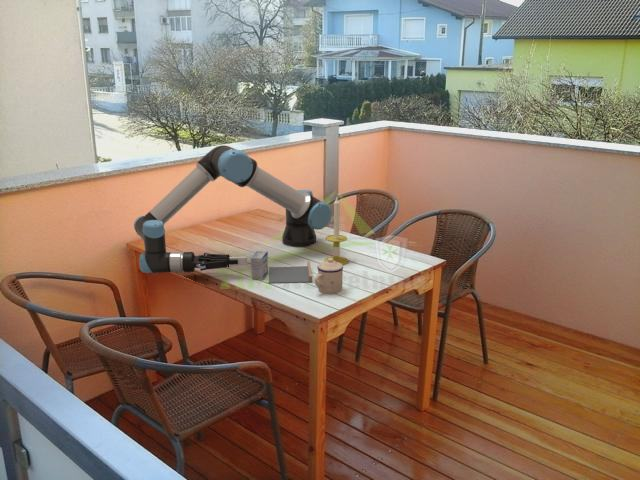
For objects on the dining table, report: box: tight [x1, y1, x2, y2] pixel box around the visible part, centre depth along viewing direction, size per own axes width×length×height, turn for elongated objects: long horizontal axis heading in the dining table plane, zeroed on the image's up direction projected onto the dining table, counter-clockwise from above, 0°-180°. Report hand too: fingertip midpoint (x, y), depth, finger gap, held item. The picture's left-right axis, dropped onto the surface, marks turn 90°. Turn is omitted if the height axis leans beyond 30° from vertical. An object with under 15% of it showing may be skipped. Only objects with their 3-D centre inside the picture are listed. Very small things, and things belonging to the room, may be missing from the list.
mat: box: [268, 260, 313, 285], centre depth 224 cm, size 16×16×2 cm
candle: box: [323, 197, 349, 266], centre depth 235 cm, size 10×10×27 cm
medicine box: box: [250, 250, 269, 281], centre depth 222 cm, size 8×4×9 cm, turn 170°
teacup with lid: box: [314, 257, 344, 295], centre depth 208 cm, size 12×9×12 cm
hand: (247, 260), depth 221 cm, fingers closed
